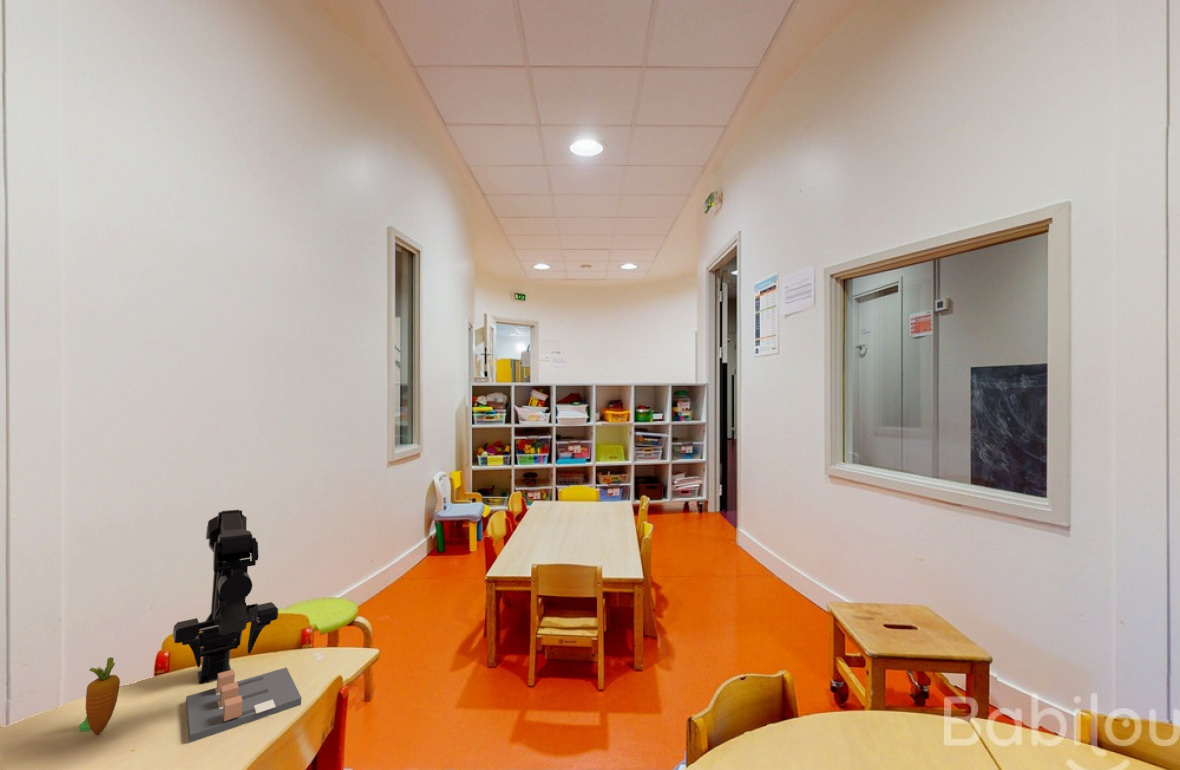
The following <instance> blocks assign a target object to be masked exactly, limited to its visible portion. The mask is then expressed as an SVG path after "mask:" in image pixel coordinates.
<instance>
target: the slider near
mask: <svg viewBox="0 0 1180 770" xmlns="http://www.w3.org/2000/svg"><path fill="white" fill-rule="evenodd" d="M242 704H243V701H242V697H241V695H240V696H237V697H233V698H230V699H227V700H224V706H223V719H224V721H227V720H230V719H233V718H236V717H239V716H241V715H242Z"/></svg>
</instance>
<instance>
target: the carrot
mask: <svg viewBox="0 0 1180 770" xmlns="http://www.w3.org/2000/svg"><path fill="white" fill-rule="evenodd" d="M115 664H116V663H115V662H114V657H108V658H107V661H106V667H104V669H103V668H102V667H100V666H99V667H97V668H95V667H91V668H90V669H89V672H93V673H94V674H95V675H96V676H97V678H96V679H94V680H92V681H91V682H90V683H88V685H87V687H86V694H85V713H86V717H87V721H88V724H89V726H90V728H91V730H90V731H92V733H93V734H94V735H95V736H99V735H100V734H101V733H103V731H104V729H105V728H106V727H107V725H108V724H109V722H110V720H111V718H112V716H113V713H114V711H115V707H116V705H117V701H118V696H119V693H120V692H119V691H120V683H121V680H120V678H119V676H118V675H116V674H111V671H112V670H113V668H114V666H115Z"/></svg>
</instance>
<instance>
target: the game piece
mask: <svg viewBox="0 0 1180 770" xmlns="http://www.w3.org/2000/svg"><path fill="white" fill-rule="evenodd" d="M78 728H79V732H91V731H92V730H91V728H90V726H89V724H88V721H87V716H86V717H85V718H84V721H82V722H81V723H80V724H79V727H78Z"/></svg>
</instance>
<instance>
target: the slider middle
mask: <svg viewBox="0 0 1180 770" xmlns="http://www.w3.org/2000/svg"><path fill="white" fill-rule="evenodd" d="M238 689H239V687H238V683H237V681H234V683H230V684H227V685H224V686H221V691H220V704H221V706H222V705H224V700H227V699H230V698H233V697H237V696H238Z"/></svg>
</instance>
